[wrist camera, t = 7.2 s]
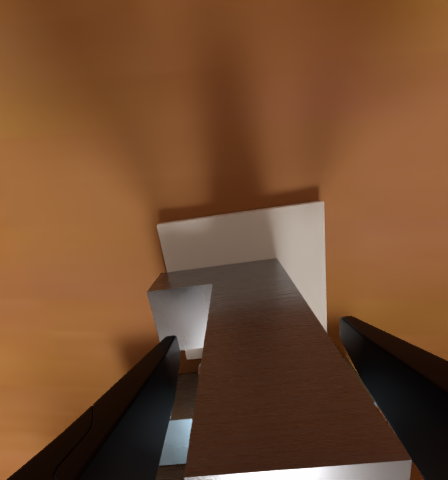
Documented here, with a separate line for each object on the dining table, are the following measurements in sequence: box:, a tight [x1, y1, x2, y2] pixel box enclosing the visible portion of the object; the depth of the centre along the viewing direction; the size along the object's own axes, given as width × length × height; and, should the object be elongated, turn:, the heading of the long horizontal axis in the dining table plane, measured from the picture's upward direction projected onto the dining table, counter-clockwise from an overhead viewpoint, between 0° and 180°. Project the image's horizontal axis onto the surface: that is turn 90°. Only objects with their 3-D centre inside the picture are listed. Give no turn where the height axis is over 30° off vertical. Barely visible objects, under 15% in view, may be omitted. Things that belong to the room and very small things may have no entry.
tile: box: [157, 201, 327, 360], centre depth 13 cm, size 9×9×1 cm
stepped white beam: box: [147, 258, 412, 480], centre depth 8 cm, size 7×4×9 cm, turn 98°
